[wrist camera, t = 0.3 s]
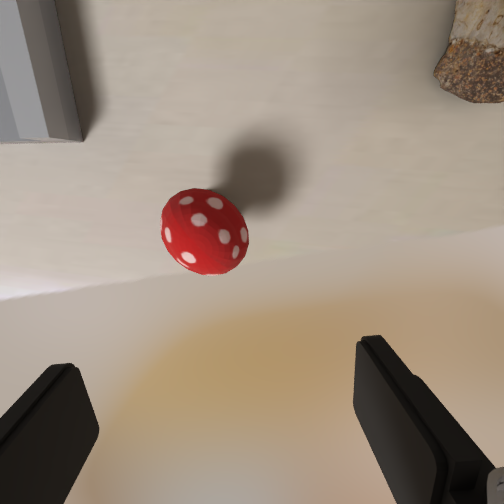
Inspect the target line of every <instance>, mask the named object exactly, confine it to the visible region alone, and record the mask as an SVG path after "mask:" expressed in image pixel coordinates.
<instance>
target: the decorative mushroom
mask: <svg viewBox="0 0 504 504" xmlns="http://www.w3.org/2000/svg"><path fill="white" fill-rule="evenodd" d="M160 228H161V235H162V240H163V242H164V244H165V246H166V248H167V250H168V252H169V253H170V254H171V255H172V256H173V258H174V259H175V260H176V261H177V262H178V263H180V264H181V265H182V266H184V267H185V268H187V269H188V270H191V271H193V272H196V273H199V274H202V275H213V276H214V275H219V274H224V273H227V272H228V271H230V270H232V269H233V268H235V267H236V266H238V264H239V263H240V262H241V261H242V259H243V258H244V257H245V255H246V251H247V248H248V245H249V237H248V229H247V226H246V223H245V221H244V218H243V216H242V215H241V214H240V212H239V211H238V209H237V208H236V207H235V205H233V204H232V203H231V202H230V201H228V200H227V199H226V198H225V197H223V196H222V195H219V194H217V193H215V192H212V191H210V190H205V189H196V188H193V189H189V190H184V191H180V192H179V193H177V194H176V195H174V196H173V197H172V198H170V199H169V201H168V202H167V204H166V205H165V207H164V208H163V211H162V216H161V221H160Z"/></svg>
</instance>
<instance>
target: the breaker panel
mask: <svg viewBox="0 0 504 504" xmlns="http://www.w3.org/2000/svg"><path fill="white" fill-rule="evenodd" d="M62 142H83V137H82V133H81V128H80V123H79V118H78V113H77V108H76V103H75V98H74V94H73V89H72V84H71V79H70V74H69V69H68V64H67V59H66V55H65V50H64V45H63V40H62V35H61V30H60V25H59V20H58V16H57V11H56V6H55V1H54V0H0V144H15V143H62Z"/></svg>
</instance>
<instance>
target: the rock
mask: <svg viewBox="0 0 504 504" xmlns="http://www.w3.org/2000/svg"><path fill="white" fill-rule="evenodd" d="M434 76H435V77H436V78H437V79H438V80H439V81H440V87H441V88H442V89H444V90H445V91H448V92H450V93H452V94H454V95H456V96H458V97H460V98H462V99H464V100H466V101H469V102H473V103H500V102H504V0H456V7H455V18H454V22H453V26H452V30H451V33H450V36H449V46H448V48H447V51H446V53H445V55H444V56H443V57H442V58H441V60H440V61H439V63H438V65H437V66H436V68H435V70H434Z"/></svg>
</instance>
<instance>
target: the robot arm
mask: <svg viewBox="0 0 504 504" xmlns="http://www.w3.org/2000/svg"><path fill="white" fill-rule="evenodd" d="M353 406H354V410H355V413H356V416H357V418H358V420H359V422H360V425H361V427H362V429H363V431H364V433H365V435H366V437H367V440H368V442H369V444H370V446H371V449H372V451H373V453H374V455H375V457H376V459H377V462H378V464H379V466H380V468H381V470H382V473H383V475H384V477H385V479H386V481H387V483H388V485H389V488H390V490H391V492H392V494H393V497H394V499H395V501H396V503H397V504H504V467H500V468H495V466H494V465H493V464H492V463H491V462H490V460H489V459H488V458H487V457H486V456H485V455H484V453H483V452H482V451H481V450H480V448H479V447H478V446H477V445H476V444H475V443H474V441H473V440H472V439H471V438H470V437H469V435H468V434H467V433H466V432H465V431H464V429H463V428H462V427H461V426H460V425H459V423H458V422H457V421H456V420H455V419H454V417H453V416H452V415H451V414H450V413H449V411H448V410H447V409H446V408H445V407H444V405H443V404H442V403H441V402H440V401H439V399H438V398H437V397H436V396H435V395H434V394H433V392H432V391H431V390H430V389H429V388H428V386H427V385H426V384H425V383H424V382H423V380H422V379H421V378H419V377H418V376H416V375H413V374H412V373H411V371H410V370H409V369H408V368H407V366H406V365H405V364H404V363H403V362H402V360H401V359H400V358H399V357H398V355H397V354H396V353H395V352H394V350H393V349H392V348H391V347H390V345H389V344H388V343H387V342H386V341H385V339H384V338H383V337H382V336H381V335H374V336H363V337H362V338H361V341H358V342H357V344H356V360H355V378H354V396H353ZM98 434H99V425H98V422H97V419H96V416H95V413H94V410H93V407H92V404H91V402H90V399H89V396H88V393H87V390H86V388H85V385H84V381H83V379H82V376H81V373H80V370H79V368H77V367H75V366H74V365H73V364H72V363H66V364H54V365H51V366H49V367H48V368H47V369H46V370H45V371H44V372H43V373H42V374H41V375H40V377H39V378H38V379H37V380H36V381H35V382H34V383H33V384H32V385H31V386H30V387H29V388H28V389H27V390H26V391H25V392H24V393H23V395H22V396H21V397H20V398H19V399H18V400H17V401H16V402H15V403H14V404H13V405H12V406H11V407H10V408H9V409H8V411H7V412H6V413H5V414H4V415H3V416H2V417H1V418H0V504H64V502H65V500H66V497H67V496H68V494H69V492H70V490H71V488H72V486H73V484H74V482H75V480H76V479H77V476H78V475H79V473H80V471H81V469H82V467H83V465H84V463H85V461H86V459H87V457H88V455H89V453H90V452H91V450H92V447H93V446H94V443H95V442H96V440H97V438H98Z"/></svg>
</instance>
